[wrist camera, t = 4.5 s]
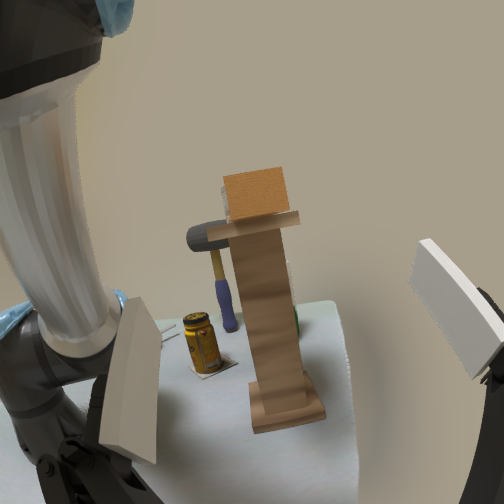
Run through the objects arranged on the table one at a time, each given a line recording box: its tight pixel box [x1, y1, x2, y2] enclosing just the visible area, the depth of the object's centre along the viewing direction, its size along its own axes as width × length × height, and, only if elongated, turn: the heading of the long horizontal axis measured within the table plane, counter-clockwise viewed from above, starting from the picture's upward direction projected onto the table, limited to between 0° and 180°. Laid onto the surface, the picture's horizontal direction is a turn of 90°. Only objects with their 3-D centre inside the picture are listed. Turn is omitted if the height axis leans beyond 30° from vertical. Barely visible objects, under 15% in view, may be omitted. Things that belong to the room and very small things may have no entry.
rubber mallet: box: [186, 220, 238, 332], centre depth 73 cm, size 12×8×30 cm, turn 68°
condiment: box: [183, 312, 238, 379], centre depth 55 cm, size 7×8×12 cm
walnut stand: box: [206, 211, 325, 434], centre depth 37 cm, size 12×10×28 cm
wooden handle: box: [221, 167, 290, 224], centre depth 30 cm, size 23×6×6 cm, turn 3°
